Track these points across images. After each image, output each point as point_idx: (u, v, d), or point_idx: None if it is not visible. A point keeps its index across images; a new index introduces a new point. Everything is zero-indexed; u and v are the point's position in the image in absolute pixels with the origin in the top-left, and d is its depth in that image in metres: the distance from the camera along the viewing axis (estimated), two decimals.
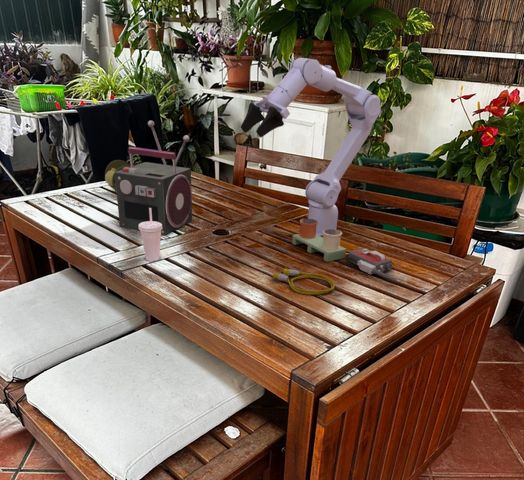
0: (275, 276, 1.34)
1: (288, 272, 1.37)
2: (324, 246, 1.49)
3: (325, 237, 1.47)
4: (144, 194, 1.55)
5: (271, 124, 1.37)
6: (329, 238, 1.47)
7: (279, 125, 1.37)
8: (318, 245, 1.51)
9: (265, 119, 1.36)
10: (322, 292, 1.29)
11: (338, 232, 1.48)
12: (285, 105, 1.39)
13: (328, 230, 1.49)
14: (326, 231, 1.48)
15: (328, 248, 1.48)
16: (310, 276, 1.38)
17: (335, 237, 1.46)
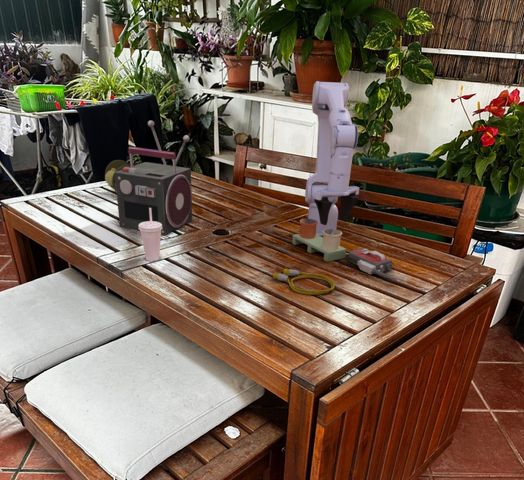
0: (275, 276, 1.34)
1: (288, 272, 1.37)
2: (324, 246, 1.49)
3: (325, 237, 1.47)
4: (144, 194, 1.55)
5: None
6: (329, 238, 1.47)
7: None
8: (318, 245, 1.51)
9: (350, 208, 1.45)
10: (322, 292, 1.29)
11: (338, 232, 1.48)
12: None
13: (328, 230, 1.49)
14: (326, 231, 1.48)
15: (328, 248, 1.48)
16: (310, 276, 1.38)
17: (335, 237, 1.46)
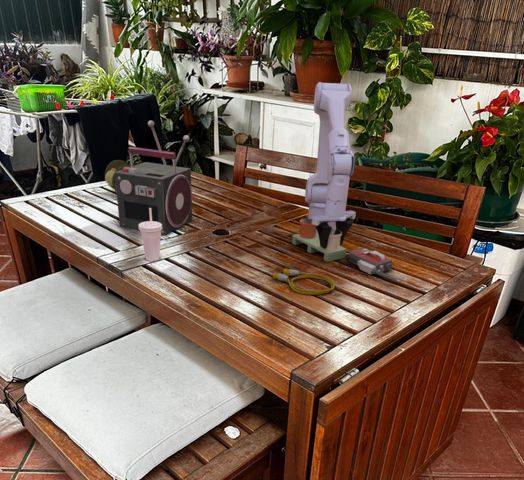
0: (275, 276, 1.34)
1: (288, 272, 1.37)
2: None
3: None
4: (144, 194, 1.55)
5: None
6: (329, 238, 1.47)
7: None
8: (318, 245, 1.51)
9: (345, 233, 1.49)
10: (322, 292, 1.29)
11: (338, 232, 1.48)
12: None
13: None
14: None
15: (328, 248, 1.48)
16: (310, 276, 1.38)
17: (335, 237, 1.46)
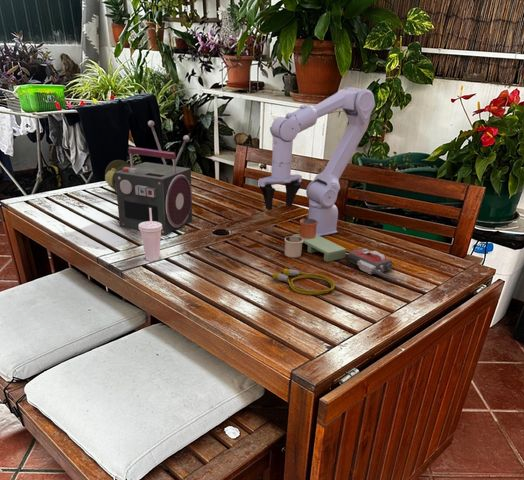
0: (275, 276, 1.34)
1: (288, 272, 1.37)
2: (286, 253, 1.50)
3: (286, 244, 1.49)
4: (144, 194, 1.55)
5: None
6: (290, 245, 1.48)
7: None
8: (318, 245, 1.51)
9: (294, 195, 1.58)
10: (322, 292, 1.29)
11: (299, 239, 1.49)
12: None
13: (290, 237, 1.50)
14: (287, 238, 1.50)
15: (289, 255, 1.50)
16: (310, 276, 1.38)
17: (296, 244, 1.48)
